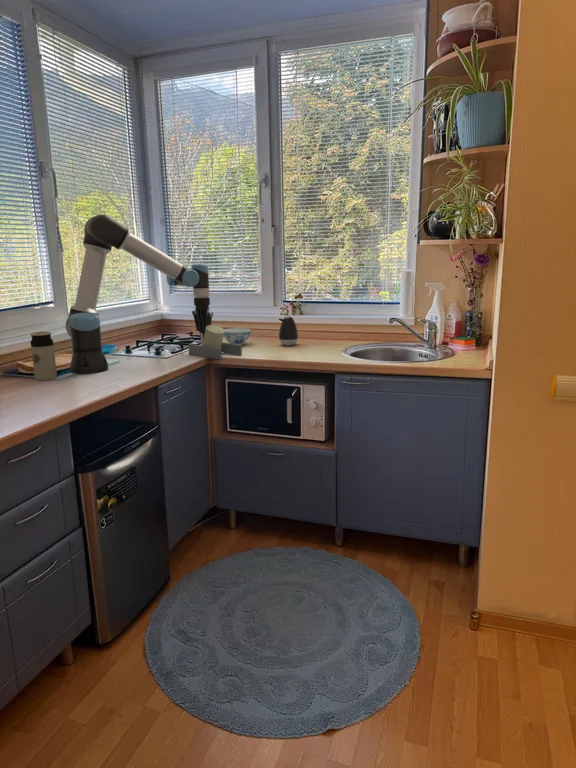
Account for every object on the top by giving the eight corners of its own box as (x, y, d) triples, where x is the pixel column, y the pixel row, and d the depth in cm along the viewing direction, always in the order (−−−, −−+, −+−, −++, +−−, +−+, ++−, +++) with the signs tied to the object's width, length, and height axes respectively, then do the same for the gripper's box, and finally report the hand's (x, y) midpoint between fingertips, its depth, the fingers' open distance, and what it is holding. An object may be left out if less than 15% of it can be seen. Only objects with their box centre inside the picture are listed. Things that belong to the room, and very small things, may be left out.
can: (209, 356, 253) (214, 333, 248) (197, 347, 258) (201, 325, 253) (223, 353, 260) (229, 331, 255) (211, 345, 265) (216, 323, 259)
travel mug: (50, 375, 217) (45, 330, 212) (61, 378, 212) (55, 332, 207) (31, 378, 211) (25, 333, 206) (41, 381, 206) (35, 335, 202)
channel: (220, 359, 245) (219, 349, 243) (189, 354, 259) (188, 344, 257) (242, 355, 255) (241, 345, 254) (211, 350, 269) (210, 340, 268)
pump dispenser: (275, 344, 285) (274, 315, 281) (293, 342, 289) (292, 314, 286) (283, 347, 276) (282, 317, 272) (301, 345, 280) (301, 316, 277)
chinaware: (253, 342, 293) (253, 328, 291) (248, 347, 278) (248, 332, 276) (226, 342, 294) (225, 328, 292) (220, 346, 280) (219, 332, 278)
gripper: (216, 297, 255) (218, 346, 261) (198, 295, 263) (201, 343, 269) (204, 298, 249) (207, 348, 255) (186, 296, 257) (189, 345, 263)
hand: (204, 345), depth 262 cm, fingers closed
